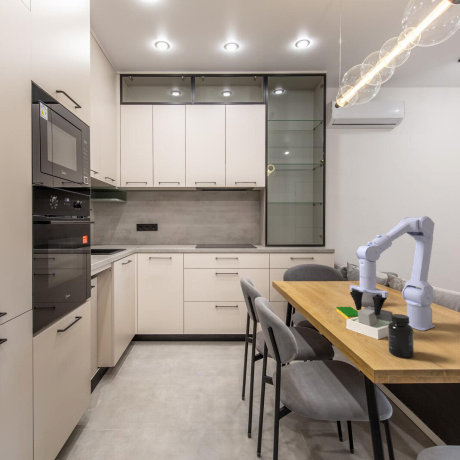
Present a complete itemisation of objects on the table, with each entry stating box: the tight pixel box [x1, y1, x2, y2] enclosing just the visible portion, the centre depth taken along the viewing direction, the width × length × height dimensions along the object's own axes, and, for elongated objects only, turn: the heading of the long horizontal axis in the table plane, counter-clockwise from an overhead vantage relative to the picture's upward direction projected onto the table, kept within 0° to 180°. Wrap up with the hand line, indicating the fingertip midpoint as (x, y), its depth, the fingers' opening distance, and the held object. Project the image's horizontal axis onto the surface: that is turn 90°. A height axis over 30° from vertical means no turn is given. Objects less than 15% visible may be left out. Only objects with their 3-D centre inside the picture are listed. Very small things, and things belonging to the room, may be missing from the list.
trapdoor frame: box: [345, 317, 388, 340], centre depth 110 cm, size 14×13×4 cm
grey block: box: [358, 307, 377, 327], centre depth 108 cm, size 4×4×5 cm
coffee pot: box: [362, 293, 376, 308], centre depth 150 cm, size 21×12×15 cm, turn 162°
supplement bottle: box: [387, 313, 415, 359], centre depth 89 cm, size 7×7×12 cm
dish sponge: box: [335, 306, 359, 320], centre depth 129 cm, size 7×14×2 cm, turn 179°
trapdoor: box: [355, 306, 393, 328], centre depth 110 cm, size 11×10×4 cm
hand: (367, 312), depth 108 cm, fingers open, 7 cm apart
